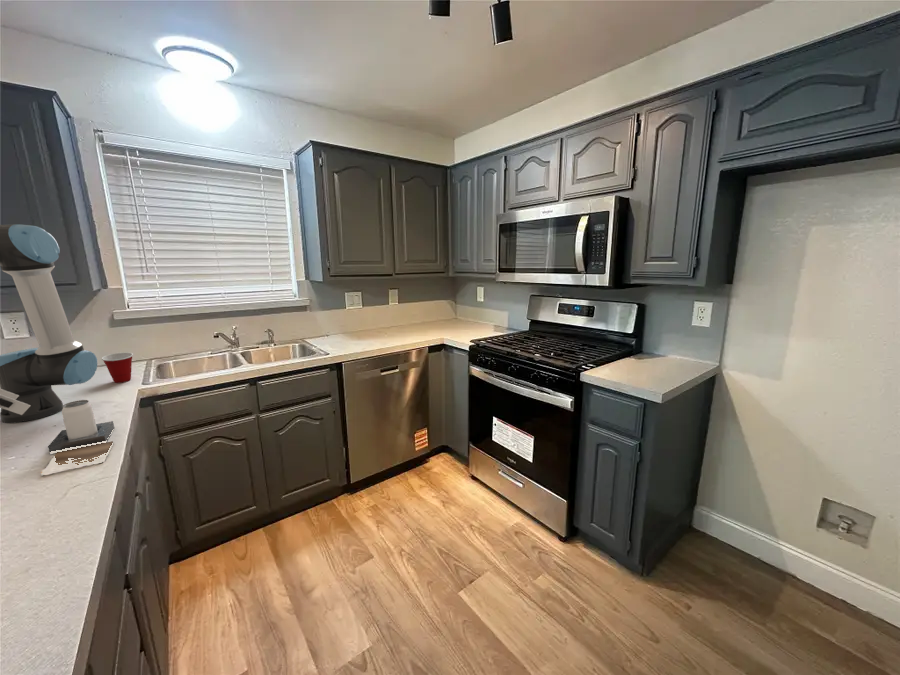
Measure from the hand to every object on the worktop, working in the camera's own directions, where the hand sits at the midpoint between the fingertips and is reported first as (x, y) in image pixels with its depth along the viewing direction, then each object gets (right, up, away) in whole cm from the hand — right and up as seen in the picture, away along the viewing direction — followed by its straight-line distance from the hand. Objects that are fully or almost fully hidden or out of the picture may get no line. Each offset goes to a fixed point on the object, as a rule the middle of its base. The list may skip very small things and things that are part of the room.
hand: (20, 404), depth 102 cm
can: (+6, -13, +12) cm, 19 cm away
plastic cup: (-30, -1, +67) cm, 74 cm away
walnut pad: (+15, -15, +1) cm, 21 cm away
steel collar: (+6, -13, +12) cm, 19 cm away
